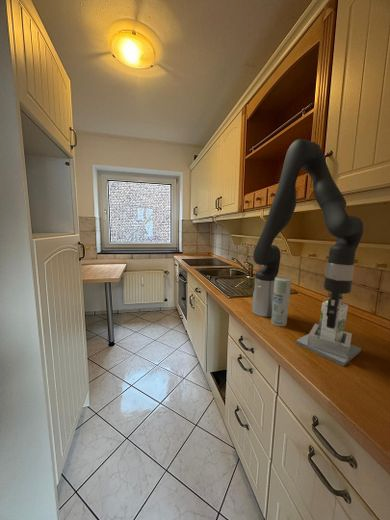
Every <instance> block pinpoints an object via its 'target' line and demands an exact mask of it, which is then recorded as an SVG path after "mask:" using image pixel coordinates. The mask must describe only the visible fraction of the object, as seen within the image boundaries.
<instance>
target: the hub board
mask: <svg viewBox="0 0 390 520" xmlns="http://www.w3.org/2000/svg"><path fill="white" fill-rule="evenodd" d="M308 335H309V333H307V334H305V335H304V336H301V337H300V338H298V339H296V340H295V344H296V345H298V346H300V347H302V348H305V349H306V350H308V351H311V352H312V353H315V354H316V355H319V356H321V357H323V358H325V359H327V360H329V361H331V362H333V363H335V364H337V365H338V366H339V365H340V366H341V367H345V366H346V365H347V364H348V363H350V362H351V360H353V359H354V358H355V357H356V356H357V355H359V354H360V353H361V352H362V348H361V347H359V346H356V345H354V344H351V343H350V349H349V355H348V359H346V358H343V357H340V356H337V355H334V354H331V353H328V352H325V351H322V350H320V349H317V348H314V347H311V346H308V345H307V343H308Z"/></svg>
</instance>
